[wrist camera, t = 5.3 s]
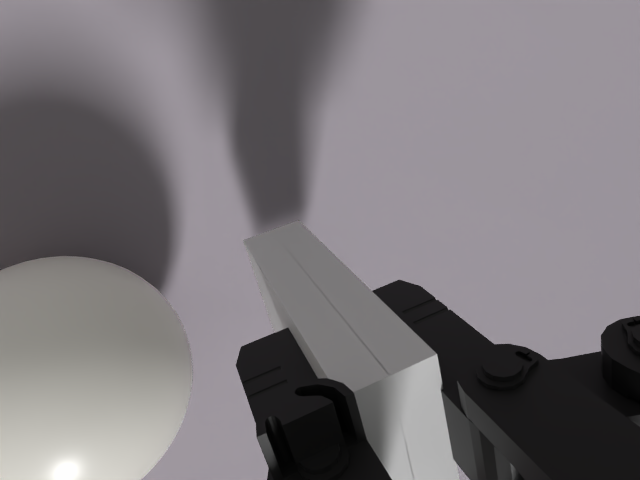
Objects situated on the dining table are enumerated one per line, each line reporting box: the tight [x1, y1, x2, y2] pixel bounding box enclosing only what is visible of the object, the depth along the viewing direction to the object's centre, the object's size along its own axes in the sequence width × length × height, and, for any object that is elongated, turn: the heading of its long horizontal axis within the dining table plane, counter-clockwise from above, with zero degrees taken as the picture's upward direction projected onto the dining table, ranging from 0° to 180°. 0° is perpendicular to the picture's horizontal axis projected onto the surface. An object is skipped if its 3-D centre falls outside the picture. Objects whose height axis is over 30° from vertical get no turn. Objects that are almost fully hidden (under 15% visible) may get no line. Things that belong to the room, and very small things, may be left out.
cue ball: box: [0, 256, 193, 480], centre depth 11 cm, size 6×6×6 cm
